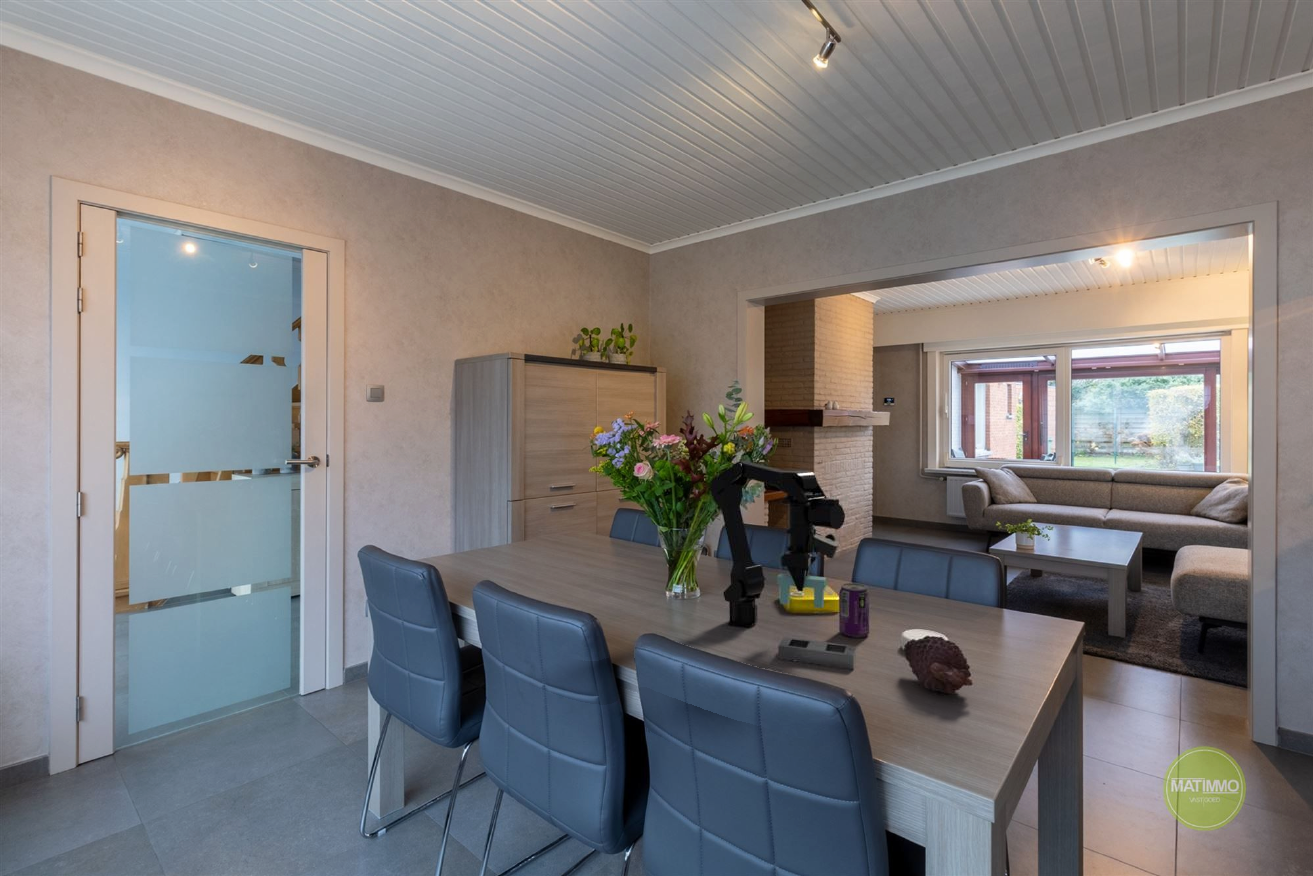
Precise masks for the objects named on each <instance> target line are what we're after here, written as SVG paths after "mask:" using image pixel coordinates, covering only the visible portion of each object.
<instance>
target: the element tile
mask: <svg viewBox="0 0 1313 876" xmlns="http://www.w3.org/2000/svg"><path fill="white" fill-rule="evenodd" d="M778 590H779V594H778V595H779V600H780V586H779V589H778ZM781 605H782V606H783V607H784V610H785V611H786V612H788V613H790V612H791V614H815V613H814V612H839V594H837V593H836V592H835V591H834V590H833V589H832V588H831V587H830V586H829V585H826V587H825V589H824V605H823V607H822V608H817V607H814V588H808V587H805V588H803V591H798V590H797V588H796V586H790V602H789V603H788V604H781Z"/></svg>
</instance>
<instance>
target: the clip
mask: <svg viewBox="0 0 1313 876" xmlns="http://www.w3.org/2000/svg"><path fill="white" fill-rule="evenodd" d="M776 578H777V579H776V580H777V581H776V582H777V585H778V586H779V587H780V599H779V603H780V604H781V605H782V604H788V603H789V602H790V586H796V585H795V583H794V581H793V579H792V577H791V574H790V573H779V574H778V575H777V577H776ZM826 586H827V577H826V576H825V577H824V576H812V575H808V576H805V581H804V587H808V588H814V607H817V608H822V607H823V605H824V589H825V587H826Z"/></svg>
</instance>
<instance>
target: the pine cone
mask: <svg viewBox="0 0 1313 876" xmlns="http://www.w3.org/2000/svg"><path fill="white" fill-rule="evenodd" d="M948 640H949V639H948ZM948 640H945V639H943V638H942V637H934V636H931V637H930V636H926V637H924V638H923V639H918V640H915V639H912V640H911V641H908V642H907V644H905V646H904V647H905V648H904V650H903V651H904V653H905V660H906V661H907V662H908V666H909V667H910V668H911V669H912V670H911V672H912V674H913V675H915V676H916V679H917V681H918V682H919V683H921V684H923V685H924V687H925V688H926V689H932V690H933V691H934V692H940V693H945V694H946V693H947V694H949V695H950V694H952V695H953V693H956V691H959V690H960V689H962V688H963V687H964V686H965V687H966V686H969V687H970V686H973V680H971V679H970V677H971V676H972V673H971V672H970V670H969V669H970V668H971V666H970V665H969V664H968V661H967V658H966V657H965V656H964V653H963V650H961V648H960V646H959V645H957V644H956V643H955V642H953V641H951V640H949V641H948Z"/></svg>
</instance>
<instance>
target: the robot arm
mask: <svg viewBox="0 0 1313 876" xmlns="http://www.w3.org/2000/svg"><path fill="white" fill-rule="evenodd" d="M817 479H818V478H817V477H816V474H815V473H814V472H812V471H810V470H783V469H779V468H775V467H771V466H767V465H763V464H759V463H754V462H752V461H751V460H743V461H737V462H735V463H734V464H733V465H732V466H731V467H729V468H728V469H726V470H724V471H723V472H721V473H719V474H718V475H717V476H715V477H713V478H712V480H711V482H710V484H709V490H710V493H711V497H712V499H713V501H714V503H715V504H716V505H717V506H718V507H719V509H720V510H721V513H722V518H723V523H724V528H725V531H726V535H727V540H728V544H729V550H730V554H731V558H732V566H731V567H732V568H731V571H730V577H729V578H730V585H729V586H728V587H727V588H726V589H725V590H724V591H723V598H724V601H726V602H729V606H728V607H729V620H728V621H727V625H729V626H736V627H743V628H744V627H745V628H753V626H754V625H755V623H756V622H758V605H757V604H756V600H757V599H760V598H761V594H762V592H763V589H764V588H765V581H766V578H765V575H764V571H763V567H762V565H761V564H756V563H755V562H754V560H753V558H752V555H751V551H750V546H749V541H748V537H747V533H746V529H745V524H744V523H745V522H744V519H743V515H742V510H741V503H742V501H743V496H744V495H743V488H744V487H745V486H746V485H747V484H748V483H749V480H753V481H756V482H760V483H764V484H767V485H771V486H774V487H777V488H778V489H779V490H780V491H781V492H782V493H784V494H785V495H786V497H785V498H783V499H782V500H781V501H780V503H781V504H782V505H788V528H787V530H786V533H787V534H788V546H786V547H787V549H786V550H787V551H786V552H785V553H784V554H783V555H781V557H780V566H781V567H786V568H787V570H788V572H789V574H791V577H792V579H793V581H794V583H795V585H796V588H797V590H798V591H803V588H805V587H804V581H805V576H809V572H810V568H811V567H812V565H813V564H814V562H815V561H816V560H817V558H818V557H817V556H812V554H813V553H815V555H820V554H821V555H824V556H825V557H827V558H829V559H834V557H835V556H836V553H837V550H838V548H839V545H840V543H839V542H838V541H836V535H834V534H832V533H830V532H829V533H828V534H826V535H825V536H824V535H821V534H817V529H816V527H819V528H825V529H832V530H840V529H841V528H842V527H843V525H844V524H845V523H844V522H845V519H846V513H845V510H844V508H843V506H842V505H841V504H840V499H839V498H827V495H826V494H825V492H824V490H823V489H822V487H821V485H820V483H819V482H818V480H817Z"/></svg>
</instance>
